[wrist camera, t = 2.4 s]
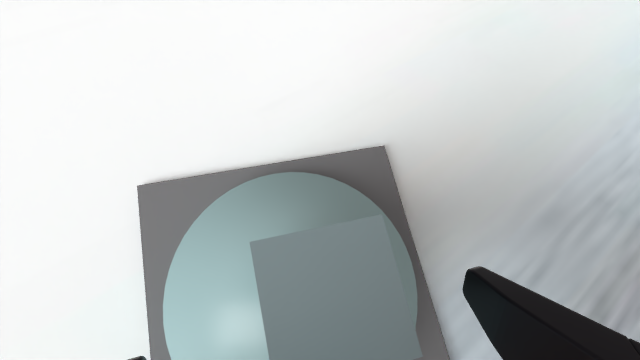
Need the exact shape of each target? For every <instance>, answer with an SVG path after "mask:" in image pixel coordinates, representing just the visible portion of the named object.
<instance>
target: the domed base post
mask: <svg viewBox="0 0 640 360" xmlns="http://www.w3.org/2000/svg"><path fill="white" fill-rule="evenodd" d="M416 320H417V287H416V279H415V274H414V270H413V266H412V262H411V259H410V257H409V254H408V251H407V248H406V246H405V244H404V242H403V240H402V238H401V236H400V234H399V233H398V231H397V230H396V228H395V227H394V225H393V224H392V222H391V221H390V220H389V218H388V217H387V216H386V215H385V214H384V212H383V211H382V210H381V209H380V208H379V207H378V206H377V205H376V204H375V203H373V202H372V201H371V200H370V199H369V198H368V197H366V196H365V195H363V194H362V193H361V192H359V191H358V190H356V189H354V188H352V187H351V186H349V185H347V184H345V183H343V182H340V181H338V180H335V179H333V178H330V177H326V176H322V175H318V174H312V173H305V172H285V173H275V174H270V175H266V176H262V177H258V178H255V179H253V180H250V181H247V182H245V183H243V184H241V185H239V186H237V187H235V188H233V189H231V190H229V191H228V192H226V193H225V194H224V195H222V196H221V197H219V198H218V199H216V200H215V201H214V202H213V203H212V204H211V205H210V206H208V207H207V208H206V209H205V210H204V211H203V212H202V213H201V215H200V216H199V217H198V218H197V219H196V220H195V221H194V222H193V224H192V225H191V227H190V228H189V230H188V231H187V233H186V234H185V235H184V237H183V239H182V241H181V243H180V245H179V246H178V248H177V250H176V252H175V255H174V258H173V260H172V263H171V266H170V268H169V272H168V276H167V280H166V284H165V291H164V300H163V326H164V332H165V338H166V344H167V347H168V351H169V354H170V357H171V360H414V359H417V358H420V357H423V355H422V352H421V348H420V345H419V341H418V338H417V334H416V331H415V328H416Z"/></svg>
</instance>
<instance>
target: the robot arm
mask: <svg viewBox="0 0 640 360" xmlns="http://www.w3.org/2000/svg"><path fill="white" fill-rule="evenodd" d="M463 294H464V296H465V298H466V300H467V302H468V303H469V305H470V307H471V308H472V310H473V312H474V314H475V315H476V317H477V319H478V321H479V322H480V324H481V326H482V328H483V329H484V331H485V333H486V334H487V336H488V338H489V339H490V341H491V343H492V344H493V346H494V347H495V349H496V350H497V352H498V353H499V354H500V356H501V357H502V359H503V360H640V343H639V342H636V341H634V340H632V339H628V338H627V337H626V336H624V335H622V334H620V333H618V332H616V331H614V330H612V329H609V328H607V327H605V326H603V325H601V324H599V323H597V322H595V321H593V320H591V319H589V318H587V317H585V316H583V315H581V314H579V313H576V312H574V311H572V310H570V309H568V308H566V307H564V306H562V305H560V304H558V303H556V302H554V301H552V300H550V299H548V298H546V297H543V296H541V295H539V294H537V293H535V292H533V291H531V290H529V289H527V288H525V287H523V286H521V285H519V284H517V283H515V282H513V281H510V280H508V279H506V278H504V277H502V276H500V275H498V274H496V273H494V272H492V271H490V270H488V269H486V268H483V267H474V268H471V269H468V270H467V272H466V275H465V280H464V284H463ZM128 360H146V358H145V357H144V356H139V357H135V358H131V359H128Z"/></svg>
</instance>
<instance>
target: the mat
mask: <svg viewBox="0 0 640 360" xmlns="http://www.w3.org/2000/svg"><path fill="white" fill-rule="evenodd" d="M285 172H305V173H312V174H318V175H322V176H326V177H330V178H333V179H335V180H338V181H340V182H343V183H345V184H347V185H349V186H351V187H352V188H354V189H356V190H358V191H359V192H361V193H362V194H363V195H365V196H366V197H368V198H369V199H370V200H371V201H372V202H373V203H375V204H376V205H377V206H378V207H379V208H380V209H381V210H382V211H383V212H384V214H385V215H386V216H387V217H388V218H389V220H390V221H391V222H392V224H393V225H394V227H395V228H396V230H397V231H398V233H399V234H400V236H401V238H402V240H403V242H404V244H405V246H406V248H407V251H408V254H409V257H410V259H411V262H412V266H413V270H414V274H415V279H416V287H417V320H416V328H415V331H416V334H417V338H418V341H419V345H420V348H421V352H422V355H423V357H420V358H417V359H414V360H450V359H449V356H448V353H447V349H446V346H445V343H444V340H443V336H442V333H441V330H440V327H439V323H438V320H437V317H436V313H435V310H434V307H433V304H432V300H431V297H430V294H429V291H428V287H427V284H426V281H425V278H424V274H423V271H422V268H421V265H420V261H419V258H418V255H417V252H416V248H415V245H414V242H413V239H412V235H411V232H410V229H409V226H408V222H407V219H406V216H405V213H404V209H403V206H402V203H401V200H400V196H399V193H398V190H397V187H396V183H395V180H394V177H393V173H392V170H391V167H390V164H389V160H388V157H387V154H386V151H385V147H384V146H379V147H372V148H366V149H360V150H354V151H348V152H342V153H336V154H329V155H323V156H317V157H311V158H305V159H299V160H292V161H286V162H280V163H274V164H268V165H262V166H256V167H249V168H243V169H237V170H231V171H225V172H219V173H213V174H206V175H200V176H194V177H188V178H182V179H176V180H170V181H163V182H157V183H151V184H145V185H139V186H137V190H138V203H139V216H140V228H141V241H142V254H143V267H144V279H145V292H146V305H147V318H148V330H149V343H150V356H151V360H171V357H170V354H169V351H168V347H167V344H166V338H165V332H164V326H163V300H164V291H165V284H166V280H167V276H168V272H169V268H170V266H171V263H172V260H173V258H174V255H175V252H176V250H177V248H178V246H179V245H180V243H181V241H182V239H183V237H184V235H185V234H186V233H187V231H188V230H189V228H190V227H191V225H192V224H193V222H194V221H195V220H196V219H197V218H198V217H199V216H200V215H201V213H202V212H203V211H204V210H205V209H206V208H207V207H208V206H210V205H211V204H212V203H213V202H214V201H215V200H216V199H218V198H219V197H221V196H222V195H224V194H225V193H226V192H228V191H229V190H231V189H233V188H235V187H237V186H239V185H241V184H243V183H245V182H247V181H250V180H253V179H255V178H258V177H262V176H266V175H270V174H275V173H285Z"/></svg>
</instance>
